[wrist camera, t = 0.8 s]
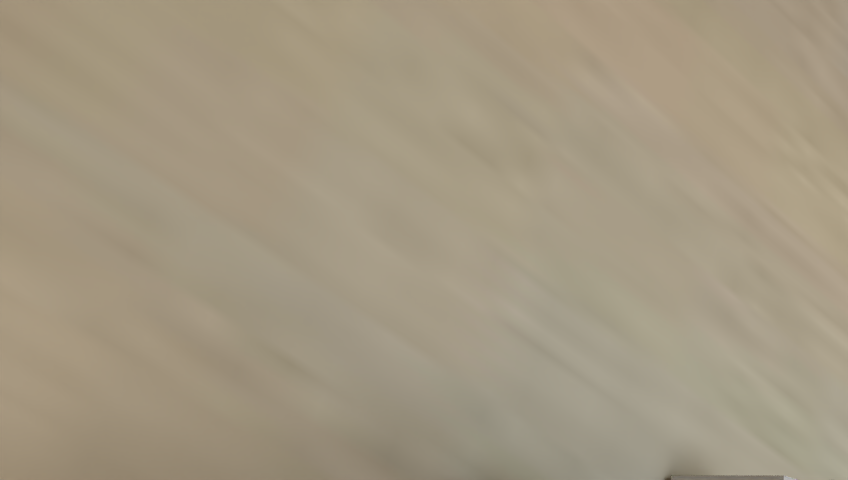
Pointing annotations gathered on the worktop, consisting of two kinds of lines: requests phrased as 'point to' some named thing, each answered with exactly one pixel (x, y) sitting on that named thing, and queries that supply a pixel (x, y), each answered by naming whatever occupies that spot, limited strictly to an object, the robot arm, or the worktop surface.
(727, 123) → the worktop surface
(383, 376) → the worktop surface
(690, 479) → the camera door
